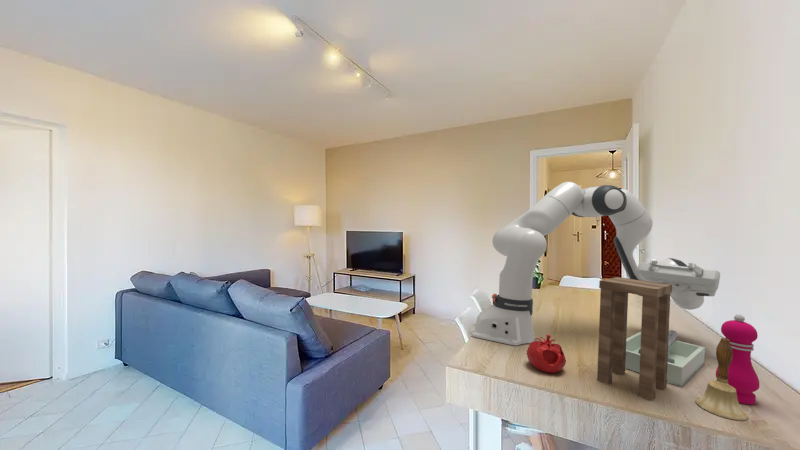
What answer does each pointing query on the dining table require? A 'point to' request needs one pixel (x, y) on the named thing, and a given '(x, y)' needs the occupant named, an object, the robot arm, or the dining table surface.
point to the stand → (651, 331)
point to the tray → (683, 353)
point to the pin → (670, 343)
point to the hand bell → (722, 388)
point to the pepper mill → (741, 359)
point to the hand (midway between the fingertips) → (671, 263)
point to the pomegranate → (546, 355)
